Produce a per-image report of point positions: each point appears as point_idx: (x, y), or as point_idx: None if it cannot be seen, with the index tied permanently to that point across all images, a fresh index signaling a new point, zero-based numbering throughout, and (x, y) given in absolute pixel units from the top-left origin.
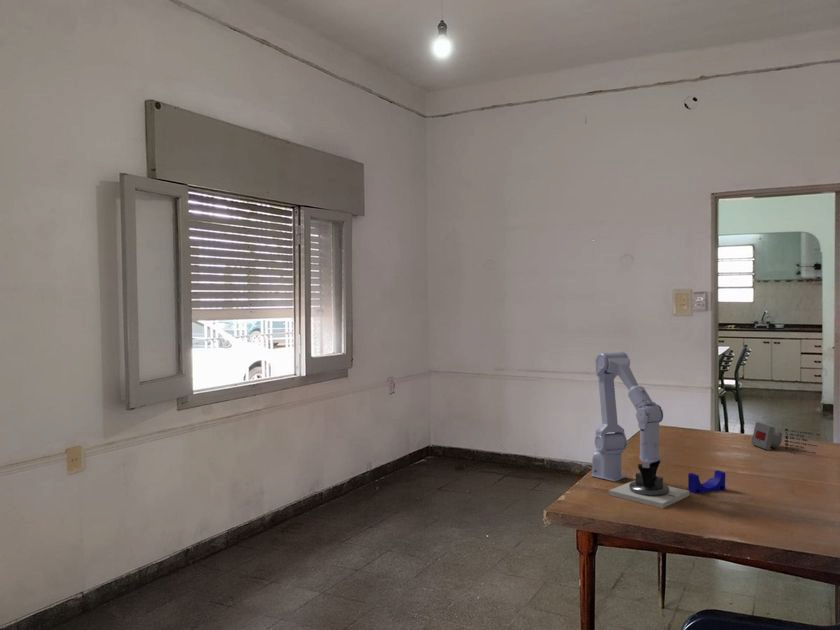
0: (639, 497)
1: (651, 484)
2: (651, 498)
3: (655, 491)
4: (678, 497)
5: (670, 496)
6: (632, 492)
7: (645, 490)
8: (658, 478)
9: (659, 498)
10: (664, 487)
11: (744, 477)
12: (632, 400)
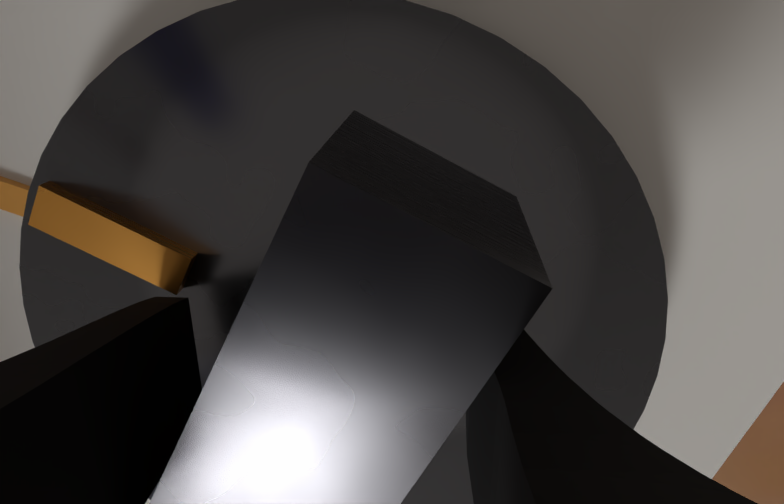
0: (759, 388)
1: (531, 338)
2: (770, 232)
3: (594, 216)
4: None
5: None
6: None
7: (591, 367)
8: (440, 268)
9: (730, 112)
10: (248, 93)
11: None
12: None
